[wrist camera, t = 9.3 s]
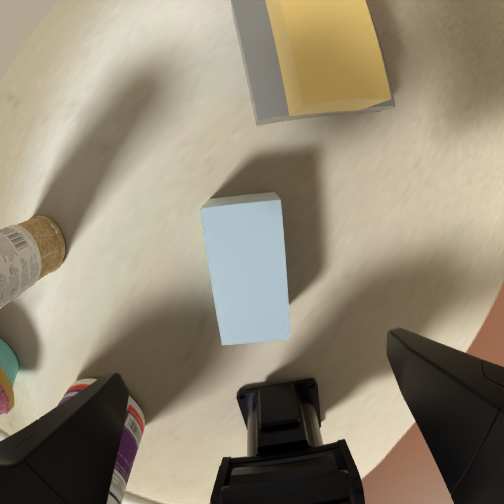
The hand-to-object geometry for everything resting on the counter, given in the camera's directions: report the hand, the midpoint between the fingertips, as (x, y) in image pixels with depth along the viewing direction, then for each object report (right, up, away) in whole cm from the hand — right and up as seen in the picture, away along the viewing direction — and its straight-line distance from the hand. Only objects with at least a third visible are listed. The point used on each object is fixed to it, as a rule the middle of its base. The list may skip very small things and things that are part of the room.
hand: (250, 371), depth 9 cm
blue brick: (0, +3, +11) cm, 12 cm away
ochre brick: (+3, +15, +5) cm, 16 cm away
